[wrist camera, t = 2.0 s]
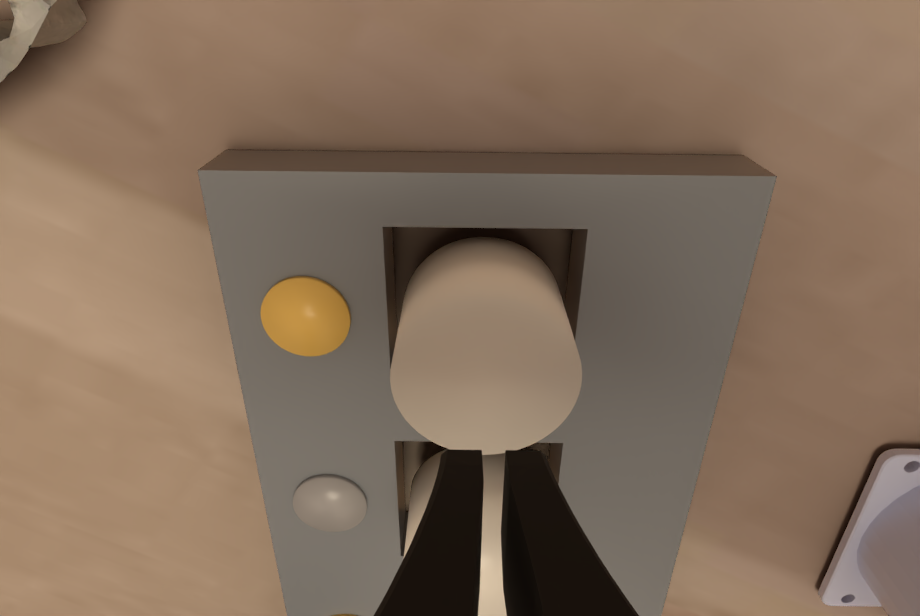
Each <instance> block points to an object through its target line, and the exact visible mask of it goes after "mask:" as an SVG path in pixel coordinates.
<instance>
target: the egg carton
mask: <svg viewBox="0 0 920 616" xmlns="http://www.w3.org/2000/svg"><path fill="white" fill-rule="evenodd" d="M8 2H9V4H10V6H11V9H12V12H13V16H14V20H1V21H0V82H1V81H2V80H3V79H4V78H5V77H7V76H8V75H9V74H10V73H11V72H12V71H13V70H14V69H15V68H16V67H17V66H18V64H19V63H20V61H21V60H22V59H23V57H24V56H25V54H26V53H27V51H28V50H29V48H32V47H40V46H46V45H50V44H57V43H61V42H64V41H66V40H67V39H69V38H70V37H72V36H73V35H74V34H75V33H77V32H78V31H79V30H80V29H81V28H82V27H83V26H84V25H85V24H86V21H87V19H86V17H85V14H84V12H83V11H82V9H81V8H80V6H79V4H78V2H77V0H8Z"/></svg>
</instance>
